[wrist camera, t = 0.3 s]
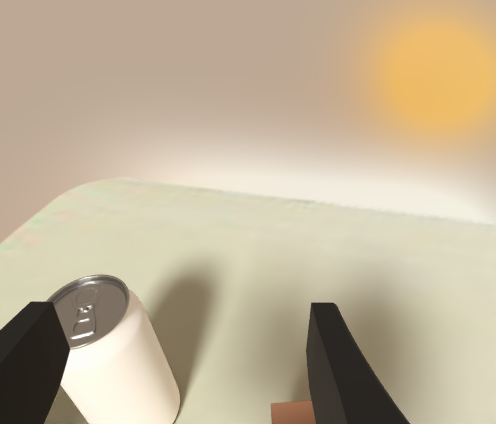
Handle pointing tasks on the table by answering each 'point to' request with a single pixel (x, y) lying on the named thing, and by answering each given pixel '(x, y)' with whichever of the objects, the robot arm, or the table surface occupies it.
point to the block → (293, 413)
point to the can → (113, 355)
